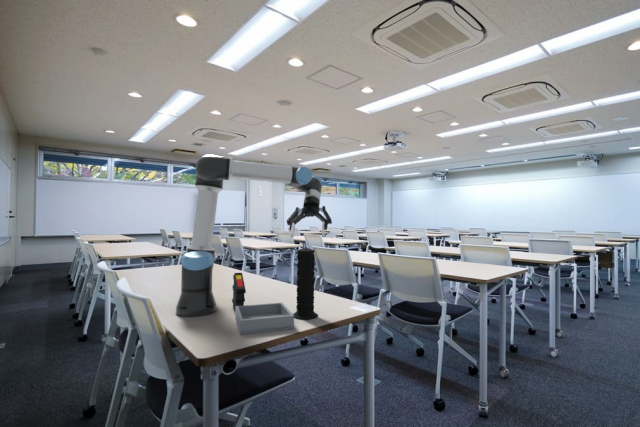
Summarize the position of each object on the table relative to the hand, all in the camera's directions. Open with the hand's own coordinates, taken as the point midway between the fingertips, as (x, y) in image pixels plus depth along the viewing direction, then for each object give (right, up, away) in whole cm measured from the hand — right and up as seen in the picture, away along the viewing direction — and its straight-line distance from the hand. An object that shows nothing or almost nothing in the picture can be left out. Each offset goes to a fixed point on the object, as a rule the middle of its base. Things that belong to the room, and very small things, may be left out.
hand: (307, 235), depth 136 cm
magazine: (-28, -30, -7) cm, 42 cm away
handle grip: (0, -31, -13) cm, 33 cm away
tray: (-15, -30, -22) cm, 40 cm away
